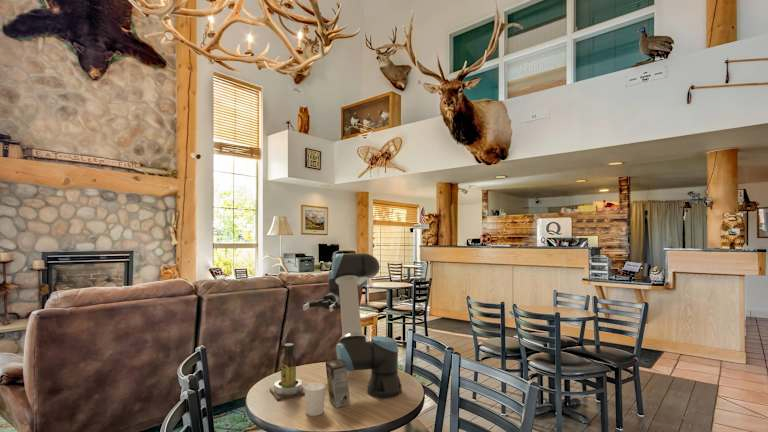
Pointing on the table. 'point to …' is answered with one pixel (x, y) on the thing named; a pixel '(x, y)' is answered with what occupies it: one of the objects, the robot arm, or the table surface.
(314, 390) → the white cup
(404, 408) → the table surface
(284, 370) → the sauce bottle
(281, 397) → the walnut base
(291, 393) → the steel collar
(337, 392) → the coffee box
